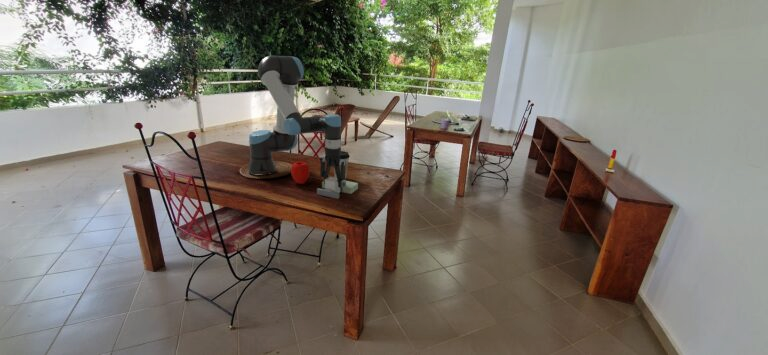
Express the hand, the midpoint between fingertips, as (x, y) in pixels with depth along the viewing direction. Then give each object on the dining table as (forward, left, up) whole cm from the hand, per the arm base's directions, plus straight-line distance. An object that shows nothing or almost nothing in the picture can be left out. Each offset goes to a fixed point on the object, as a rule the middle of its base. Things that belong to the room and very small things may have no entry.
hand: (332, 191), depth 167 cm
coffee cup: (-7, +21, -1) cm, 22 cm away
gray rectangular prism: (0, 0, 0) cm, 0 cm away
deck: (0, +3, -1) cm, 4 cm away
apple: (-22, +4, -1) cm, 22 cm away
